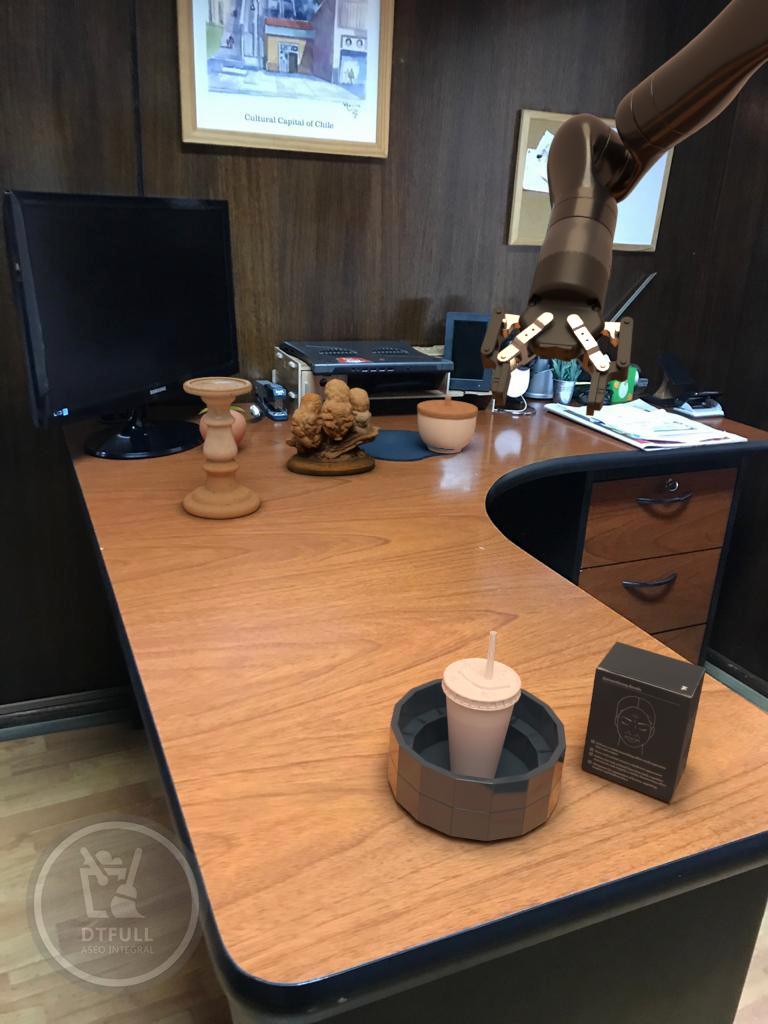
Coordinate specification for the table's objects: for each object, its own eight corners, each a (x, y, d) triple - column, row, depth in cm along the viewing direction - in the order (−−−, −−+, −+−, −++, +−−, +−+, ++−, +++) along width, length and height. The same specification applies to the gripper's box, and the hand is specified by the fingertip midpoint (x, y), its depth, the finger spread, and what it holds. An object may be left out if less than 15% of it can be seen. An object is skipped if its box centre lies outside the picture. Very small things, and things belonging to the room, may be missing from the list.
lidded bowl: (466, 440, 170) (470, 391, 166) (481, 457, 159) (485, 404, 155) (410, 440, 169) (413, 390, 165) (420, 457, 157) (423, 403, 153)
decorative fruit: (209, 459, 149) (207, 408, 146) (195, 448, 156) (193, 399, 152) (254, 454, 154) (254, 405, 150) (240, 443, 160) (239, 396, 157)
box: (685, 769, 69) (708, 666, 65) (669, 806, 64) (693, 697, 60) (599, 737, 73) (615, 638, 69) (578, 769, 68) (595, 665, 64)
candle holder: (210, 489, 133) (205, 372, 126) (273, 500, 129) (272, 380, 122) (167, 511, 122) (159, 385, 115) (235, 524, 118) (231, 394, 111)
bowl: (551, 742, 72) (559, 686, 69) (562, 858, 58) (572, 794, 56) (399, 723, 73) (402, 668, 71) (376, 832, 60) (379, 768, 58)
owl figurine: (370, 456, 156) (373, 371, 150) (386, 473, 146) (391, 384, 140) (281, 459, 151) (281, 372, 145) (292, 478, 141) (292, 385, 135)
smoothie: (492, 812, 62) (510, 660, 57) (421, 782, 65) (432, 636, 60) (521, 767, 67) (539, 625, 62) (454, 742, 70) (466, 604, 65)
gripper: (501, 244, 78) (467, 375, 72) (647, 252, 74) (625, 391, 68) (505, 295, 85) (474, 419, 79) (639, 304, 81) (618, 435, 75)
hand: (544, 406), depth 74 cm, fingers open, 8 cm apart
